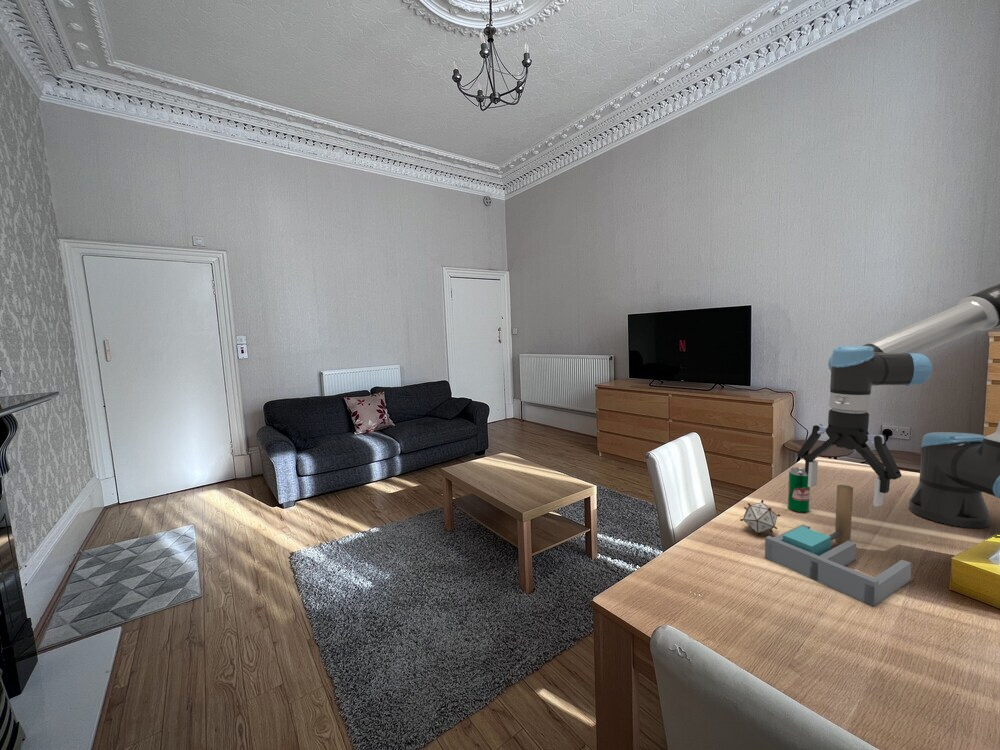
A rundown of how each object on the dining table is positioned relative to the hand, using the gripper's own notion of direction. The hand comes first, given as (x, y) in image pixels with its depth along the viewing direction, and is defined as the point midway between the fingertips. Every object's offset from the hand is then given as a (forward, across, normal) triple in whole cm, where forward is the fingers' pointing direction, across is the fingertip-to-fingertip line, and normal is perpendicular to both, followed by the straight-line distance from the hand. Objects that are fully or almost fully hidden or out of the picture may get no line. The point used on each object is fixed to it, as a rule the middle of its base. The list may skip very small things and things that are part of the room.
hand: (843, 495), depth 103 cm
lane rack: (+12, +5, -14) cm, 20 cm away
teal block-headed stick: (+12, 0, -9) cm, 15 cm away
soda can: (+12, -15, +10) cm, 22 cm away
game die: (+12, -13, -12) cm, 21 cm away
